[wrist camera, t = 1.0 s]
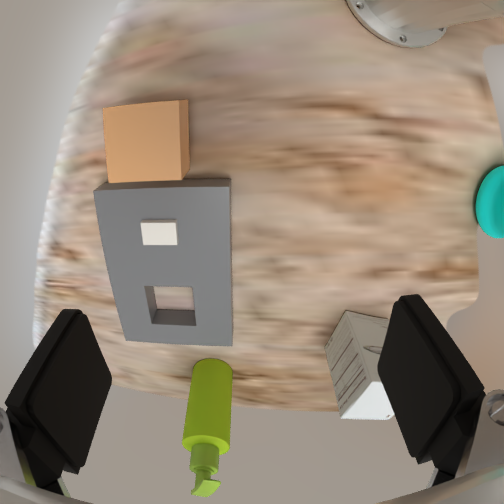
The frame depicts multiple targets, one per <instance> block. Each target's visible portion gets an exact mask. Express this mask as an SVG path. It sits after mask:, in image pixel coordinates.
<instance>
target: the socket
mask: <svg viewBox="0 0 504 504" xmlns="http://www.w3.org/2000/svg"><path fill="white" fill-rule="evenodd" d="M93 192H94V199H95V206H96V212H97V218H98V224H99V230H100V235H101V241H102V246H103V251H104V256H105V260H106V265H107V270H108V274H109V278H110V283H111V287H112V291H113V295H114V299H115V303H116V307H117V311H118V314H119V318H120V322H121V325H122V329H123V332H124V335H125V339H126V341H137V342H150V343H165V344H182V345H206V346H232V343H233V303H232V244H231V179H182V180H167V181H140V182H120V183H104V184H102V185H101V186H100V187H98V188H97V189H95V190H94V191H93ZM153 286H166V287H192V288H193V298H194V307H195V311H189V310H163V309H157V306H156V300H155V295H154V289H153Z"/></svg>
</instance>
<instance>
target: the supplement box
mask: <svg viewBox="0 0 504 504" xmlns="http://www.w3.org/2000/svg"><path fill="white" fill-rule="evenodd" d="M388 325H389V320H388V319H384V318H377V317H372V316H367V315H362V314H358V313H354V312H350V311H345V313H344V315H343V316H342V318H341V320H340V322H339V323H338V325H337V327H336V329H335V330H334V332H333V334H332V336H331V337H330V339H329V341H328V343H327V344H326V346H325V352H326V356H327V360H328V365H329V369H330V373H331V377H332V381H333V386H334V390H335V394H336V399H337V403H338V408H339V413H340V418H342V419H372V420H374V419H376V420H388V419H390V418H391V417H392V416H393V415H394V412H393V409H392V407H391V404H390V402H389V399H388V397H387V394H386V392H385V389H384V387H383V384H382V382H381V380H380V377H379V375H378V371H377V365H378V361H379V358H380V354H381V351H382V347H383V344H384V340H385V336H386V333H387V329H388Z"/></svg>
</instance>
